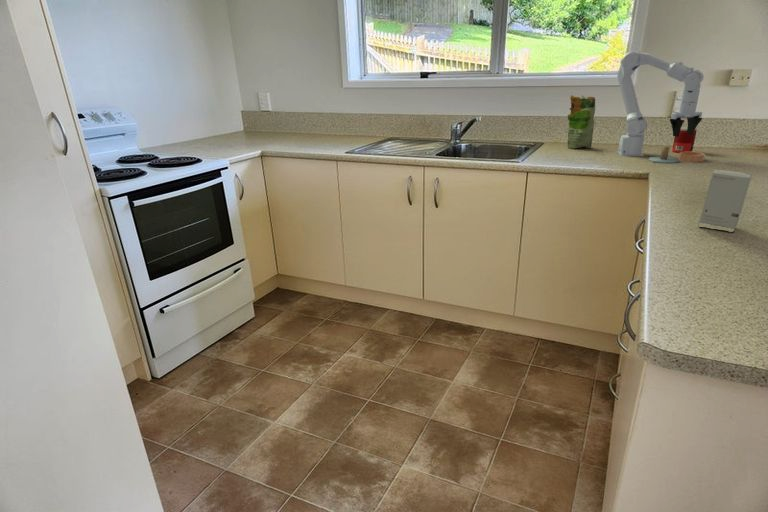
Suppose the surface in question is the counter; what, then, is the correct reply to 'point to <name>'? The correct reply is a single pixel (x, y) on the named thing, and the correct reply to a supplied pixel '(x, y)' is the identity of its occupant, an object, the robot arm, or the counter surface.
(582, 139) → the pouch
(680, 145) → the canned food
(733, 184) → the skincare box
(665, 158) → the lid
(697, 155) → the bowl
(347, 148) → the counter surface
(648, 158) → the mat
